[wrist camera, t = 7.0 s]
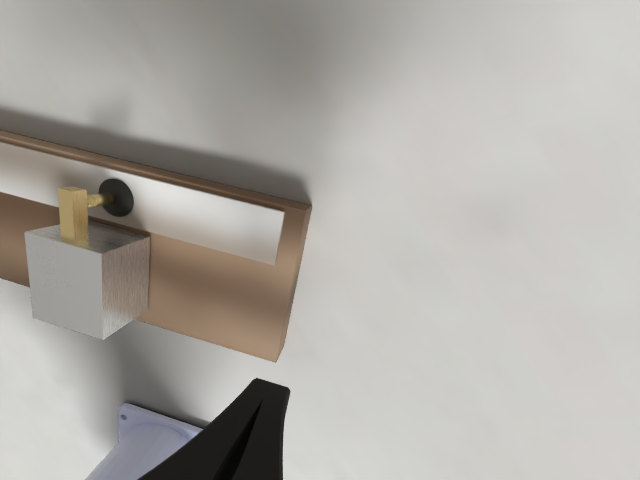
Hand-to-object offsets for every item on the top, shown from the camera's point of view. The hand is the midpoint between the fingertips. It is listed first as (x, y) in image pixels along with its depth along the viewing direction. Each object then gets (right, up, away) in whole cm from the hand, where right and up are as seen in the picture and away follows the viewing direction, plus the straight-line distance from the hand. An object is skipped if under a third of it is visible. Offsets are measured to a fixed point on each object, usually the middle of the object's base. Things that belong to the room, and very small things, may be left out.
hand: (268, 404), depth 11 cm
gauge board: (-12, +7, +7) cm, 16 cm away
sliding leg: (-9, +6, +6) cm, 12 cm away
